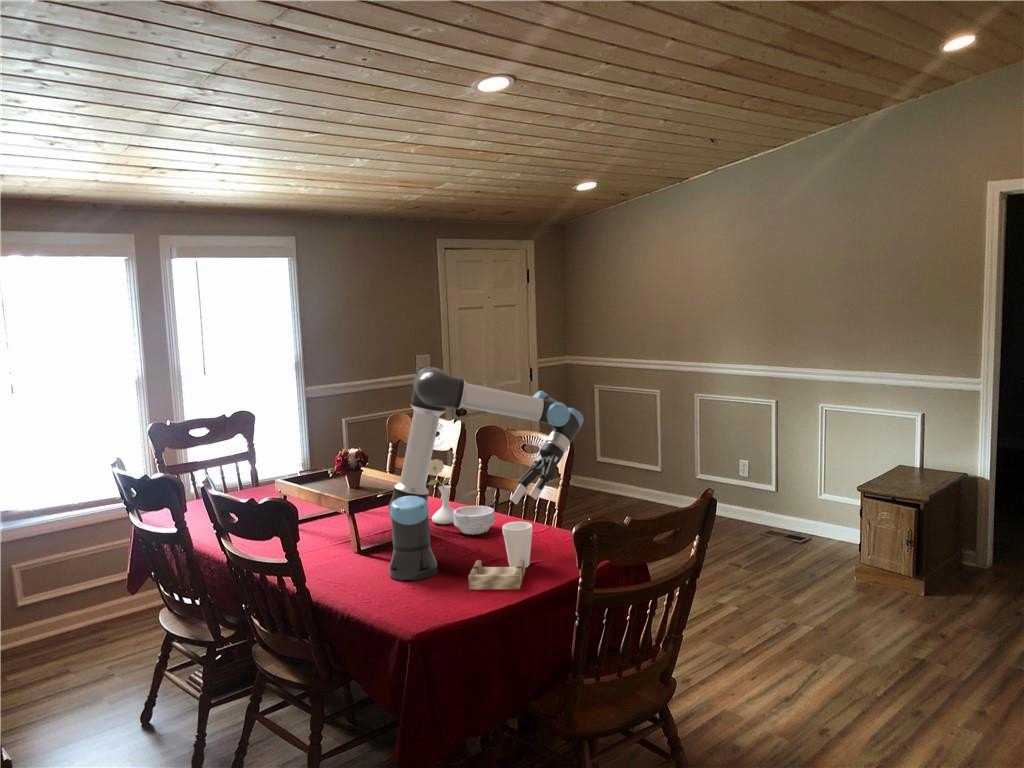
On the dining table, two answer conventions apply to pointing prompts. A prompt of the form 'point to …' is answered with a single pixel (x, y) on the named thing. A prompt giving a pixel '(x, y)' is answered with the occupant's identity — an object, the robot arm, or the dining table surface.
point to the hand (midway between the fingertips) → (522, 499)
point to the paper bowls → (474, 519)
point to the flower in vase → (445, 511)
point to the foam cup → (518, 542)
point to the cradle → (496, 576)
